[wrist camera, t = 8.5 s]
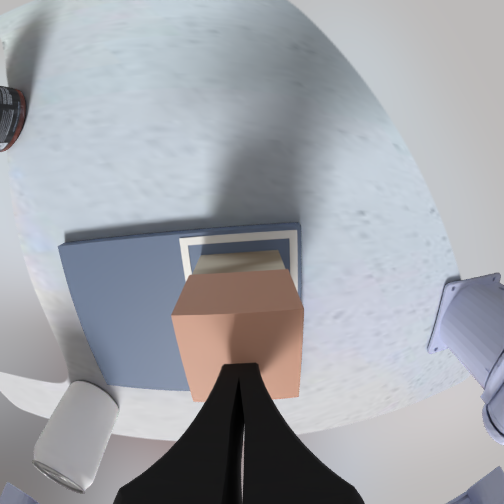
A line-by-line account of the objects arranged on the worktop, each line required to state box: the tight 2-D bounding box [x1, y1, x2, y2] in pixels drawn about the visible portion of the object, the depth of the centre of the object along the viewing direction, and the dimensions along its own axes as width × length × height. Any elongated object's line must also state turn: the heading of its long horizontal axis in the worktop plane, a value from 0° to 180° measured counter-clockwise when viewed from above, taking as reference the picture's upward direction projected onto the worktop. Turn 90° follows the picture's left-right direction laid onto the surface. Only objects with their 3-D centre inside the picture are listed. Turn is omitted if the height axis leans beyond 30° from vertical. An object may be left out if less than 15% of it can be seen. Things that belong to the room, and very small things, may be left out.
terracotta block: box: [171, 269, 304, 402], centre depth 13 cm, size 5×5×4 cm
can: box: [32, 381, 119, 494], centre depth 18 cm, size 6×6×12 cm
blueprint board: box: [58, 222, 301, 391], centre depth 20 cm, size 18×14×1 cm
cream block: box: [192, 250, 285, 275], centre depth 16 cm, size 5×5×4 cm
